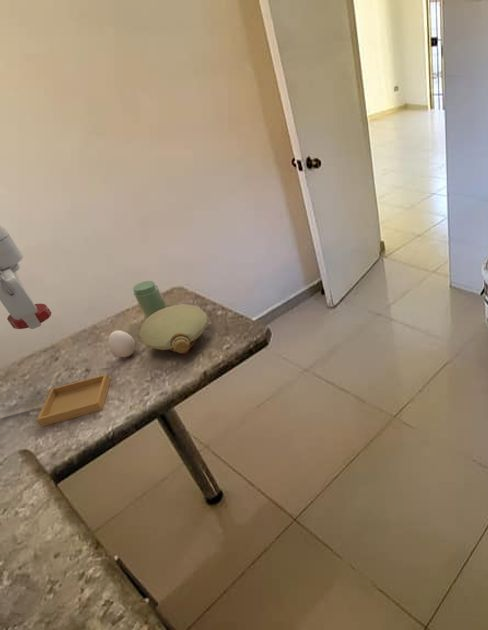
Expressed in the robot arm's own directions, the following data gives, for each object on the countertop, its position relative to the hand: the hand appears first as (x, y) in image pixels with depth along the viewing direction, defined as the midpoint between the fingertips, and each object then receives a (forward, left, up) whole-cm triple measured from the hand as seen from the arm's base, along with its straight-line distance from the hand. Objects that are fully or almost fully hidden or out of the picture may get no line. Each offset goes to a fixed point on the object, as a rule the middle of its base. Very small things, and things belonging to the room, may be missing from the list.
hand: (31, 319), depth 86 cm
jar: (+13, +28, -21) cm, 37 cm away
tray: (-1, -2, -21) cm, 21 cm away
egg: (+7, +12, -21) cm, 25 cm away
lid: (0, 0, +1) cm, 1 cm away
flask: (+20, +10, -21) cm, 31 cm away
